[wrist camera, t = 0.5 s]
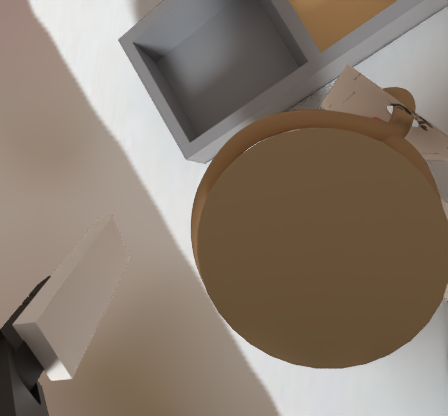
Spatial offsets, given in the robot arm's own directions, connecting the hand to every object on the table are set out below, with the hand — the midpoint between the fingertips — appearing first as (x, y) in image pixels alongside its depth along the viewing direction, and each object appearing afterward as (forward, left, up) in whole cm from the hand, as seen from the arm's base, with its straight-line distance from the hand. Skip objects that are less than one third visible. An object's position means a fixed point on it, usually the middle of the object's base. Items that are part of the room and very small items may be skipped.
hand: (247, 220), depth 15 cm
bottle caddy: (+15, -9, -20) cm, 27 cm away
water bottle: (-1, -3, -20) cm, 20 cm away
